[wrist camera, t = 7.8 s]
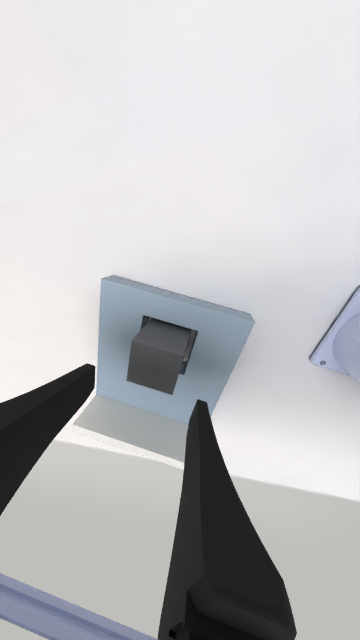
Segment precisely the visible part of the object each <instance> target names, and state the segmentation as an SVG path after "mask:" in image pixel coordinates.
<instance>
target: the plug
mask: <svg viewBox="0 0 360 640" xmlns="http://www.w3.org/2000/svg"><path fill="white" fill-rule="evenodd" d="M190 331H191V329H190V328H186V327H183V326H179V325H176V324H173V323H169V322H166V321H162V320H159V319H156V318H151V319H150V320H149V321H148V322H147V324H146V325H145V326H144V327H143V328H142V329H141V330H140V332H139V333H138V334H137V335H136V336H135V337H134V338H133V340H132V342H131V349H130V357H129V365H128V372H127V380H126V381H129V382H132V383H135V384H138V385H141V386H144V387H148V388H151V389H154V390H157V391H160V392H163V393H167V394H170V395H173V392H174V389H175V385H176V382H177V379H178V375H179V372H180V368H181V365H182V362H183V358H184V355H185V351H186V347H187V343H188V339H189V335H190Z"/></svg>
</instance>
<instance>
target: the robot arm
mask: <svg viewBox="0 0 360 640" xmlns="http://www.w3.org/2000/svg"><path fill="white" fill-rule="evenodd" d="M310 361H311V363H312V364H313V365H316V366H319V367H323V368H326V369H330V370H333V371H337V372H340V373H343V374H347V375H350V376H353V377H354V378H355V379H356V380H357V381H358V382H359V383H360V287H359V289H358V290H357V291H356V293H355V294H354V296H353V297H352V298H351V300H350V301H349V303H348V304H347V306H346V307H345V309H344V310H343V311H342V313H341V314H340V316H339V317H338V319H337V320H336V322H335V323H334V324H333V326H332V327H331V329H330V330H329V332H328V333H327V335H326V336H325V338H324V339H323V340H322V342H321V343H320V345H319V346H318V348H317V349H316V351H315V352H314V353H313V355H312V356H311V358H310ZM321 361H323V362H321ZM320 362H321V363H320ZM94 385H95V366H93V365H90V364H85V365H83V366H81V367H79V368H77V369H75V370H73V371H71V372H69V373H67V374H65V375H63V376H62V377H59V378H57V379H55V380H53V381H51V382H49V383H47V384H45V385H43V386H41V387H39V388H36V389H34V390H32V391H30V392H28V393H25V394H23V395H20V396H18V397H15V398H13V399H10V400H8V401H5V402H2V403H0V515H1V514H2V512H3V511H4V509H5V508H6V506H7V504H8V503H9V501H10V500H11V498H12V497H13V495H14V494H15V492H16V491H17V490H18V488H19V487H20V485H21V483H22V482H23V481H24V479H25V478H26V476H27V475H28V473H29V472H30V470H31V469H32V468H33V466H34V465H35V463H36V462H37V461H38V459H39V458H40V457H41V455H42V454H43V452H44V451H45V450H46V448H47V447H48V446H49V444H50V443H51V441H52V440H53V439H54V438H55V437H56V435H57V434H58V433H59V432H60V431H61V429H62V428H63V427H64V426H65V425H66V424H67V422H68V421H69V420H70V419H71V418H72V417H73V415H74V414H75V413H76V412H77V411H78V410H79V408H80V407H81V406H82V405H83V404H84V402H85V401H86V400H87V398H88V397H89V395H90V394H91V392H92V391H93V389H94ZM0 618H1V619H3V620H6V621H8V622H10V623H13V624H15V625H17V626H19V627H22V628H24V629H26V630H28V631H31V632H33V633H35V634H38V635H40V636H42V637H44V638H47V639H49V640H294V639H295V637H296V634H297V632H296V627H295V623H294V618H293V614H292V610H291V606H290V602H289V598H288V595H287V592H286V588H285V585H284V582H283V579H282V578H281V576H280V574H279V572H278V570H277V569H276V567H275V565H274V563H273V562H272V560H271V558H270V556H269V555H268V553H267V551H266V549H265V547H264V545H263V544H262V542H261V540H260V538H259V536H258V534H257V532H256V531H255V528H254V527H253V525H252V523H251V521H250V519H249V517H248V515H247V513H246V511H245V509H244V506H243V504H242V502H241V500H240V498H239V496H238V494H237V492H236V489H235V487H234V485H233V482H232V481H231V478H230V475H229V473H228V470H227V468H226V465H225V463H224V460H223V457H222V454H221V452H220V449H219V446H218V443H217V439H216V436H215V433H214V429H213V426H212V422H211V418H210V414H209V409H208V404H207V402H205V401H202V400H199V399H197V401H196V404H195V406H194V409H193V411H192V414H191V416H190V419H189V424H188V430H187V436H186V448H185V461H184V474H183V485H182V493H181V499H180V506H179V513H178V519H177V526H176V532H175V538H174V544H173V550H172V557H171V562H170V568H169V574H168V579H167V585H166V591H165V596H164V602H163V608H162V613H161V619H160V626H159V633H158V639H156V638H153V637H151V636H148V635H146V634H144V633H141V632H139V631H137V630H134V629H132V628H129V627H127V626H125V625H122V624H120V623H118V622H115V621H113V620H110V619H108V618H106V617H103V616H101V615H98V614H96V613H94V612H91V611H89V610H87V609H84V608H82V607H79V606H77V605H75V604H72V603H70V602H67V601H65V600H63V599H60V598H58V597H56V596H53V595H51V594H48V593H46V592H43V591H41V590H39V589H36V588H34V587H32V586H29V585H27V584H25V583H22V582H20V581H17V580H15V579H13V578H10V577H8V576H5V575H3V574H0Z"/></svg>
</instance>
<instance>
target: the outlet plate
mask: <svg viewBox="0 0 360 640" xmlns="http://www.w3.org/2000/svg"><path fill="white" fill-rule="evenodd" d="M148 316H149V317H152V318H156V319H159V320H162V321H166V322H169V323H173V324H176V325H179V326H183V327H186V328H190V329H193V330H196V331H197V333H196V336H195V339H194V342H193V345H192V348H191V352H190V355H189V358H188V361H187V363H183V362H182V365H181V368H180V372H179V375H178V379H177V382H176V385H175V389H174V392H173V395H170V394H167V393H163V392H160V391H157V390H154V389H151V388H148V387H144V386H141V385H138V384H135V383H132V382H129V381H126V380H127V372H128V365H129V357H130V349H131V342H132V340H133V338H134V337H135V336H136V335H137V334H138V333H139V332H140V330H141V329H142V328H143V327H144V326H145V325H146V324H147V322H148ZM254 323H255V322H254V320H253V318H252V317H251V315H250V314H248V313H244V312H241V311H237V310H234V309H230V308H227V307H223V306H220V305H216V304H212V303H209V302H205V301H202V300H198V299H195V298H191V297H188V296H184V295H180V294H177V293H173V292H170V291H166V290H163V289H159V288H156V287H152V286H149V285H145V284H141V283H138V282H134V281H131V280H127V279H124V278H120V277H117V276H109V277H105V278H101V296H100V319H99V343H98V367H97V391H96V396H95V397H94V398H93V399H92V401H91V402H90V403H89V404H88V406H87V407H86V408H85V409H84V411H83V412H82V413H81V414H80V416H79V417H78V418H77V420H76V421H75V422H74V423H73V432H76V433H79V434H81V435H84V436H87V437H90V438H93V439H96V440H99V441H102V442H105V443H108V444H110V445H113V446H116V447H119V448H122V449H125V450H128V451H131V452H134V453H136V454H139V455H142V456H145V457H148V458H151V459H154V460H157V461H160V462H162V463H165V464H168V465H171V466H174V467H177V468H180V469H183V470H184V461H185V448H186V436H187V430H188V424H189V419H190V416H191V414H192V411H193V409H194V406H195V404H196V401H197V399H199V400H202V401H205V402H207V404H208V409H209V414H210V417H211V414H212V412H213V410H214V408H215V406H216V404H217V402H218V400H219V397H220V395H221V393H222V391H223V389H224V387H225V385H226V383H227V380H228V378H229V376H230V374H231V372H232V370H233V368H234V365H235V363H236V361H237V359H238V357H239V355H240V353H241V351H242V348H243V346H244V344H245V342H246V340H247V338H248V336H249V334H250V331H251V329H252V327H253V325H254Z"/></svg>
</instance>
